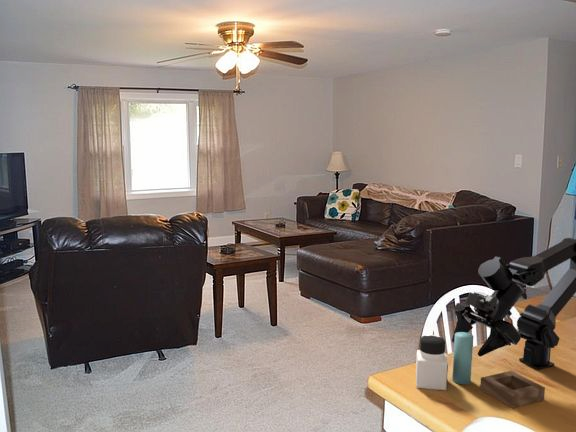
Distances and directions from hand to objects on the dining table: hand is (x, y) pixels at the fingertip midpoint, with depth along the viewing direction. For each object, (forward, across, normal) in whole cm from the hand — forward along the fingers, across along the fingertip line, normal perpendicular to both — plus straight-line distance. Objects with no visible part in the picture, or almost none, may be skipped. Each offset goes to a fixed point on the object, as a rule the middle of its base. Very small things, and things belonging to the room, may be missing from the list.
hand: (465, 348), depth 135 cm
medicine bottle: (+12, -2, 0) cm, 12 cm away
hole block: (+2, +10, +10) cm, 14 cm away
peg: (+6, 0, +6) cm, 8 cm away
